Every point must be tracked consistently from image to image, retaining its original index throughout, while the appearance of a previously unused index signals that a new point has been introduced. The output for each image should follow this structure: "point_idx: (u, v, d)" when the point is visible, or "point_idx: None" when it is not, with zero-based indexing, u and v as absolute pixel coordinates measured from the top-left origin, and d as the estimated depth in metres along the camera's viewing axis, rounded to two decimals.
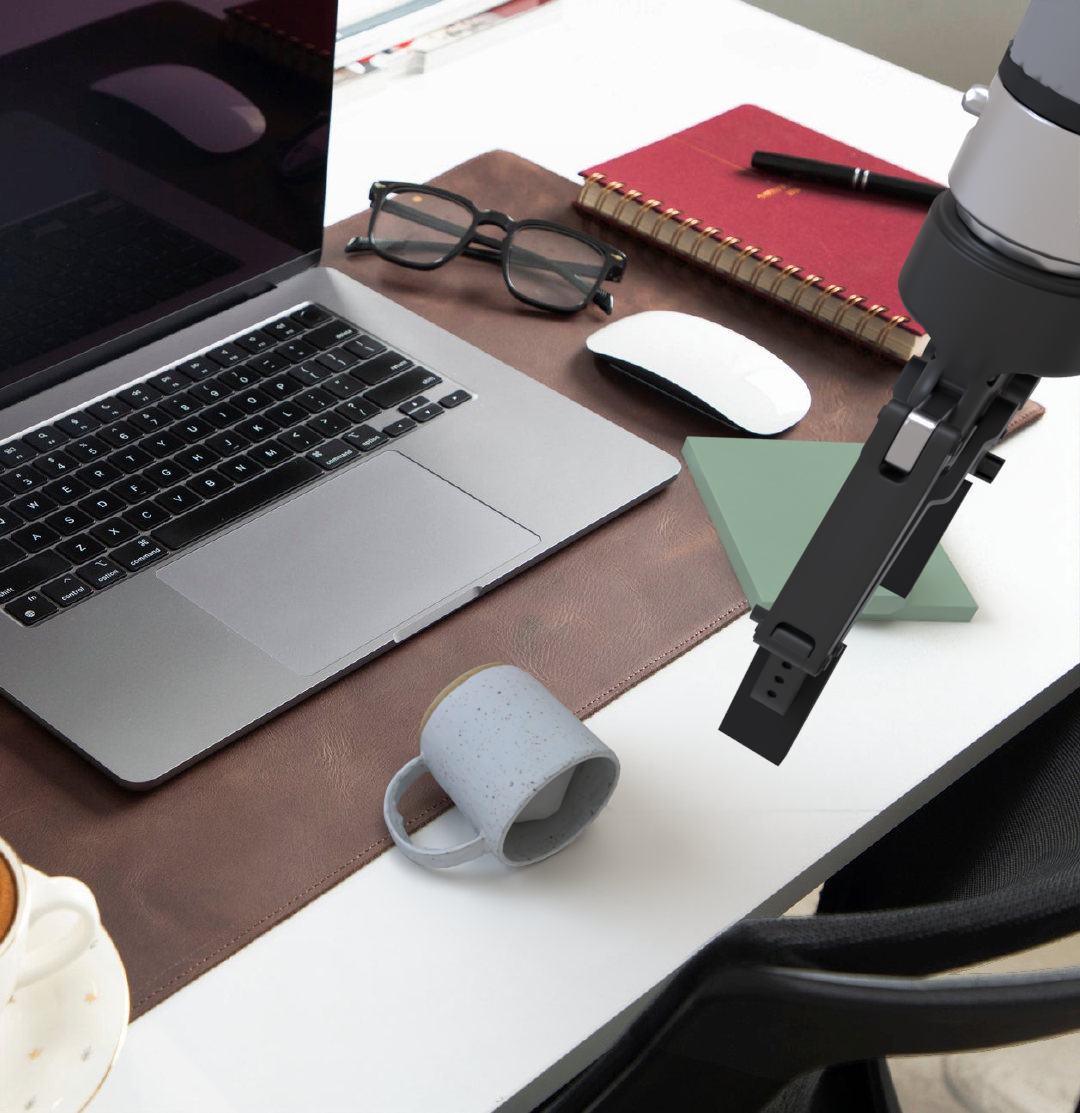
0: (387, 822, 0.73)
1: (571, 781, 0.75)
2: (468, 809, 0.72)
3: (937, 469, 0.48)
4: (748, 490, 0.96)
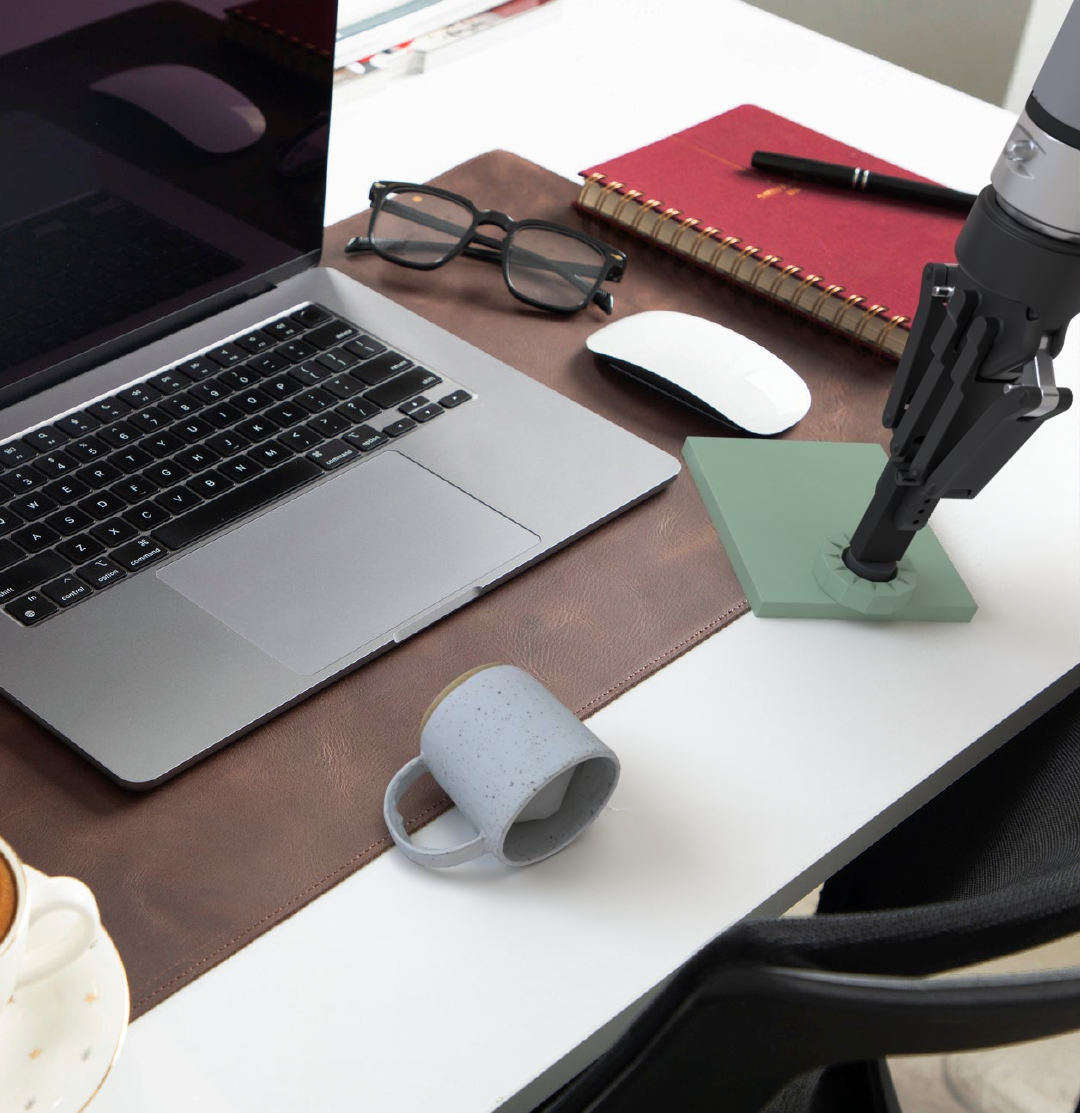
0: (387, 822, 0.73)
1: (571, 781, 0.75)
2: (468, 809, 0.72)
3: (1056, 414, 0.74)
4: (748, 490, 0.96)
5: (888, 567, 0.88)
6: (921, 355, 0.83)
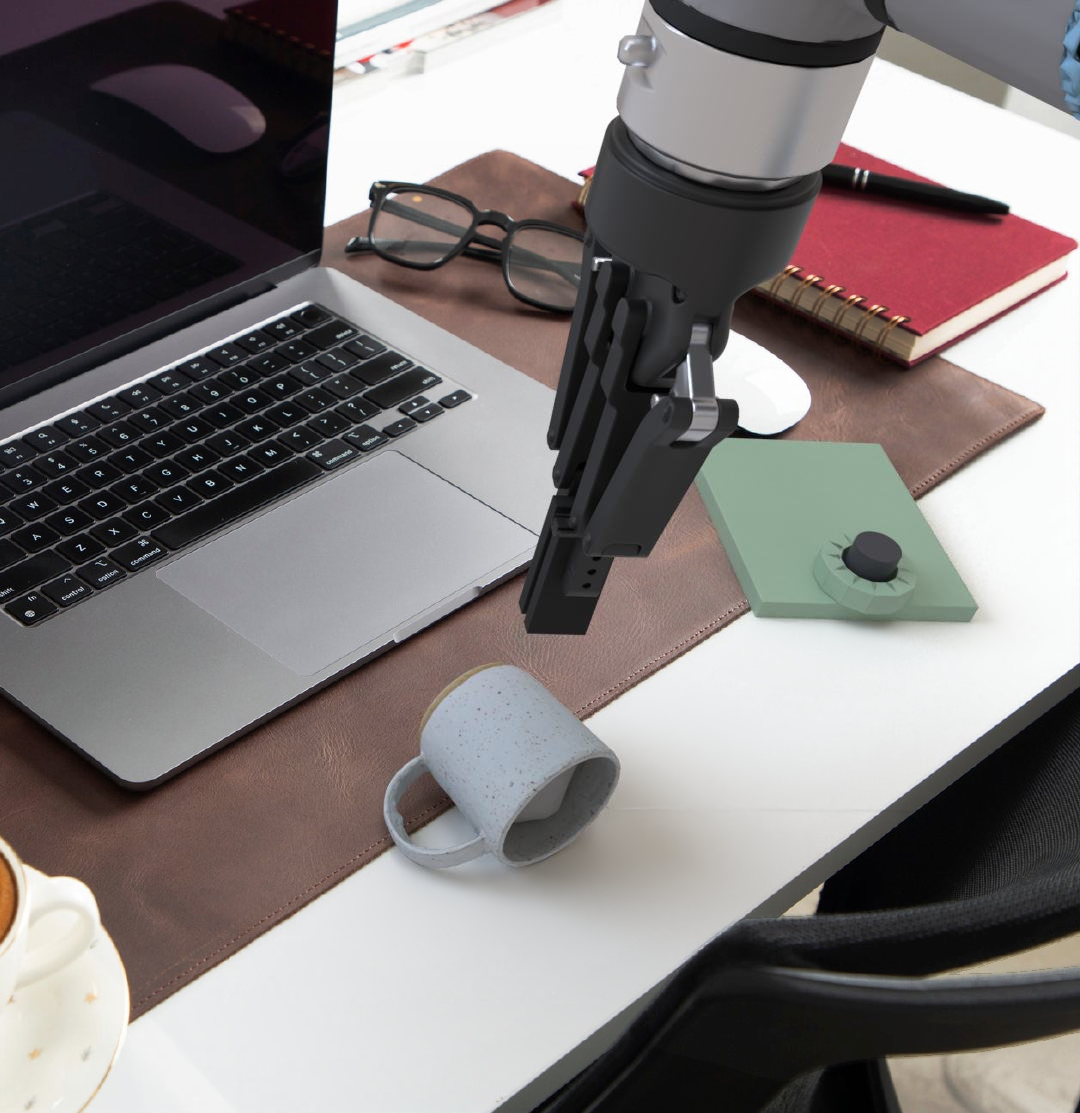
0: (387, 822, 0.73)
1: (571, 781, 0.75)
2: (468, 809, 0.72)
3: (723, 438, 0.51)
4: (748, 490, 0.96)
5: (894, 557, 0.87)
6: (585, 352, 0.60)
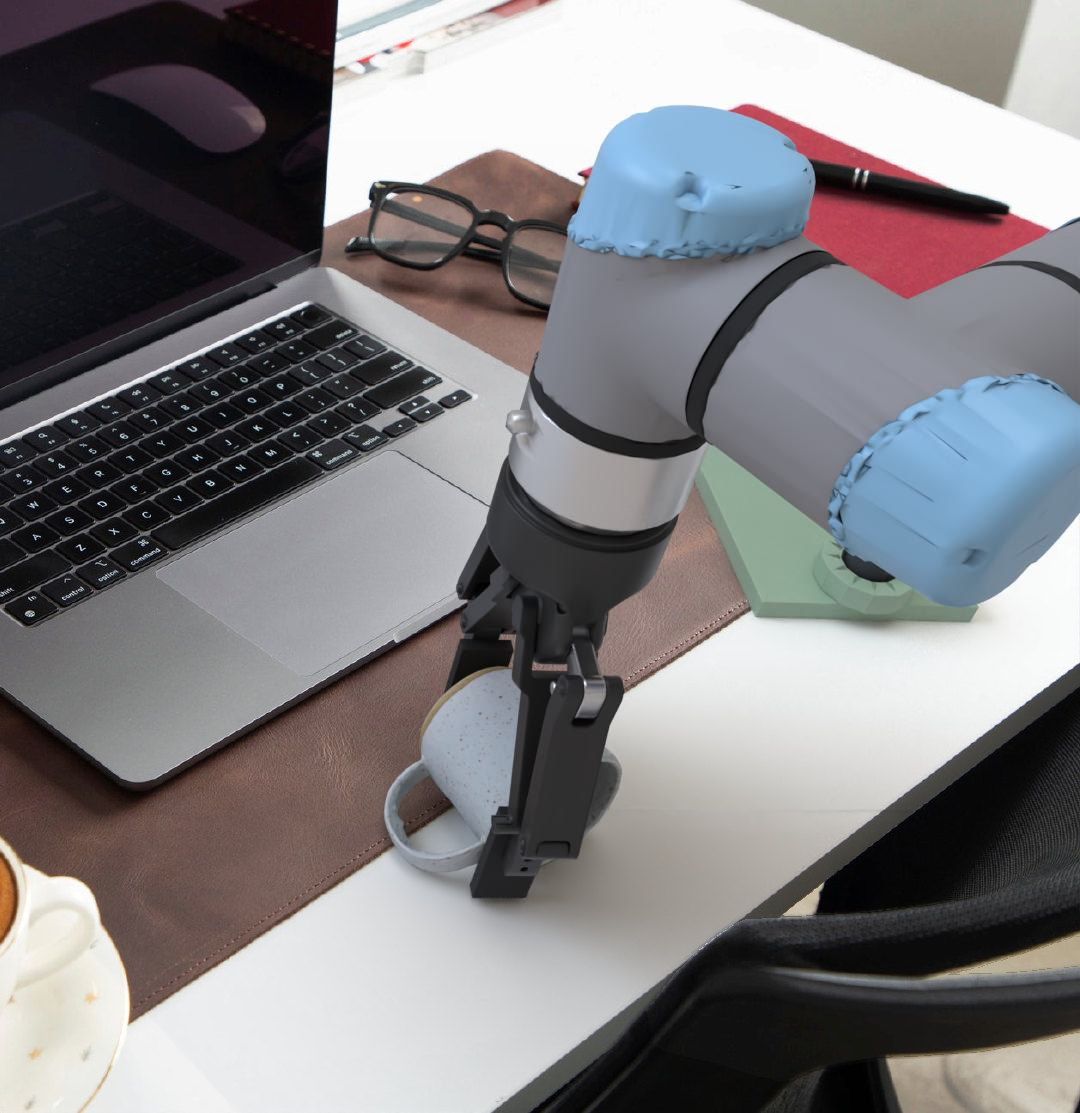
0: (388, 827, 0.73)
1: None
2: (469, 814, 0.72)
3: (615, 711, 0.60)
4: (748, 490, 0.96)
5: None
6: (491, 558, 0.72)
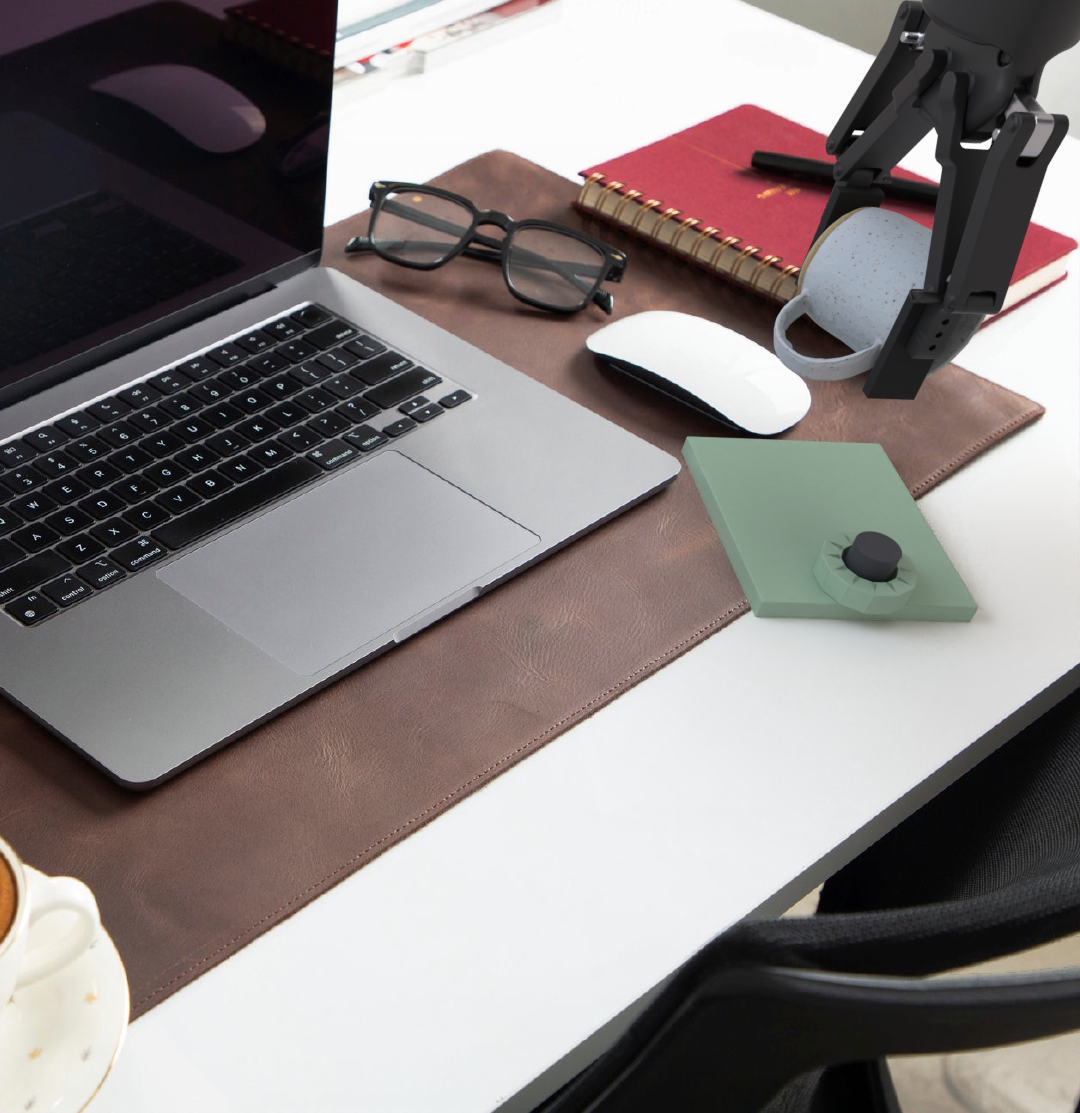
0: (782, 344, 0.80)
1: None
2: (861, 324, 0.79)
3: (1057, 147, 0.68)
4: (748, 490, 0.96)
5: (894, 557, 0.87)
6: (876, 94, 0.80)
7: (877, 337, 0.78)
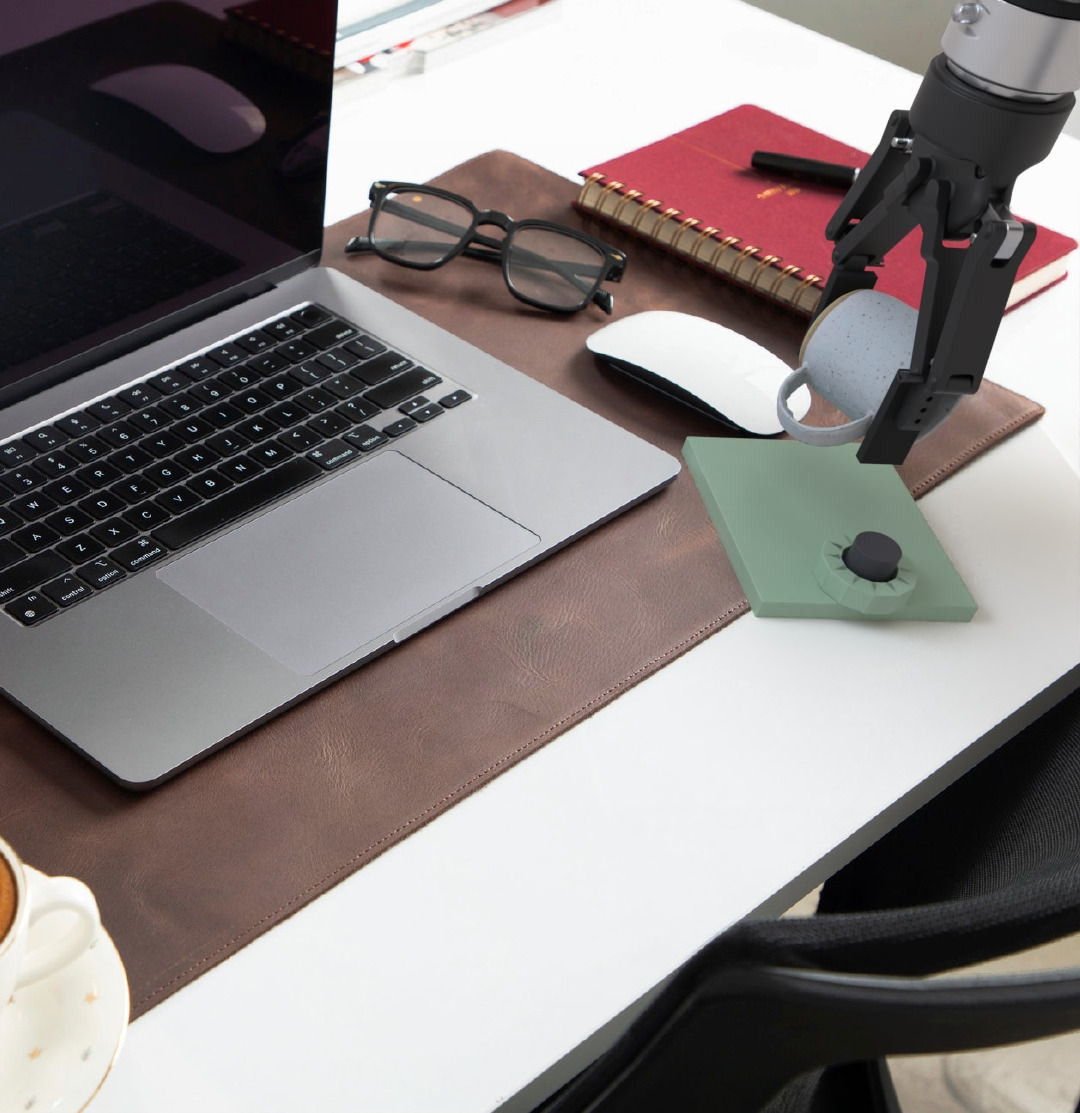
0: (784, 413, 0.89)
1: None
2: (855, 396, 0.88)
3: (1027, 251, 0.77)
4: (748, 490, 0.96)
5: (894, 557, 0.87)
6: (870, 190, 0.89)
7: (869, 409, 0.87)
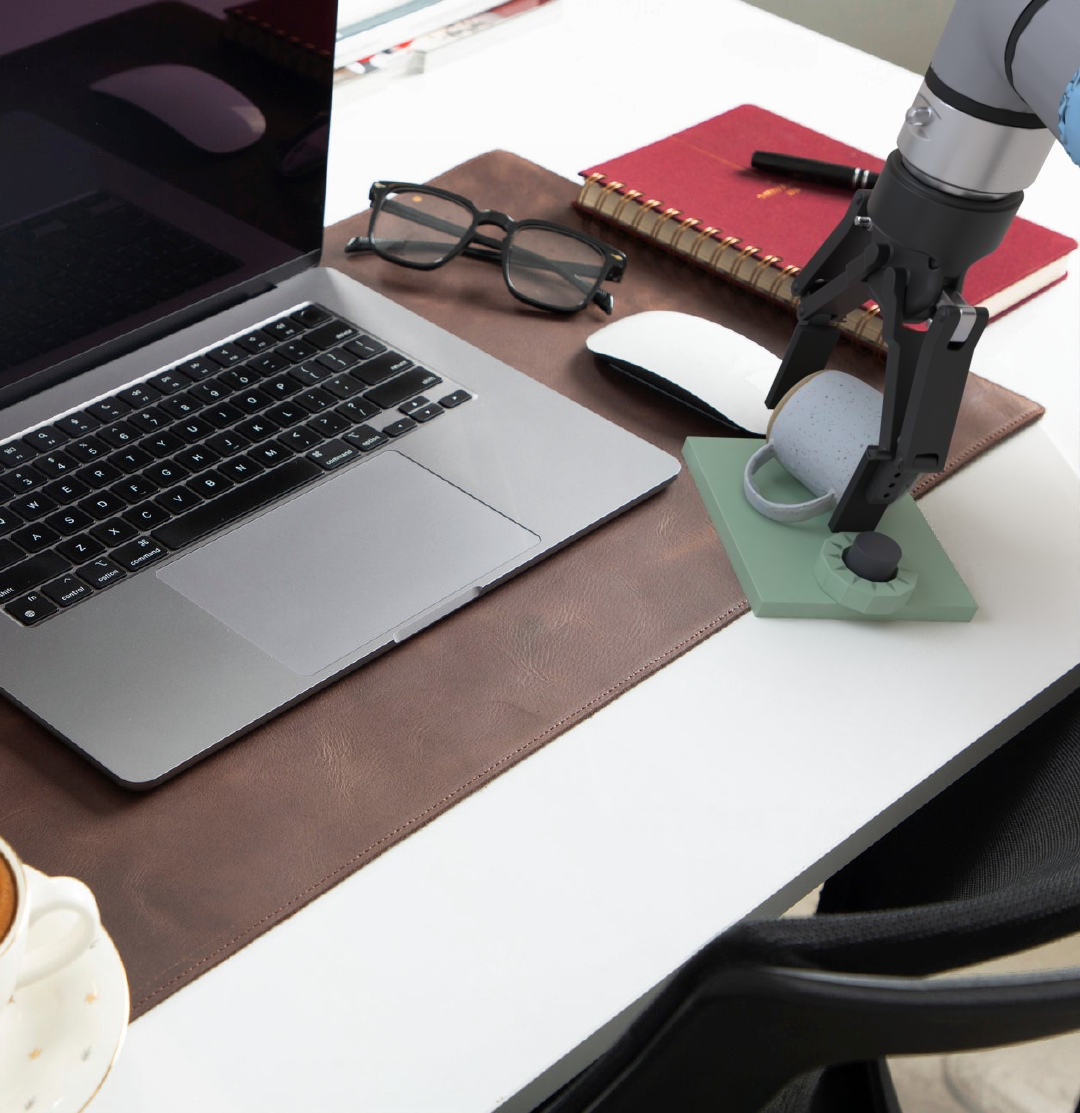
0: (750, 489, 0.94)
1: None
2: (818, 474, 0.92)
3: (981, 334, 0.81)
4: None
5: (894, 557, 0.87)
6: (833, 258, 0.93)
7: (831, 487, 0.92)
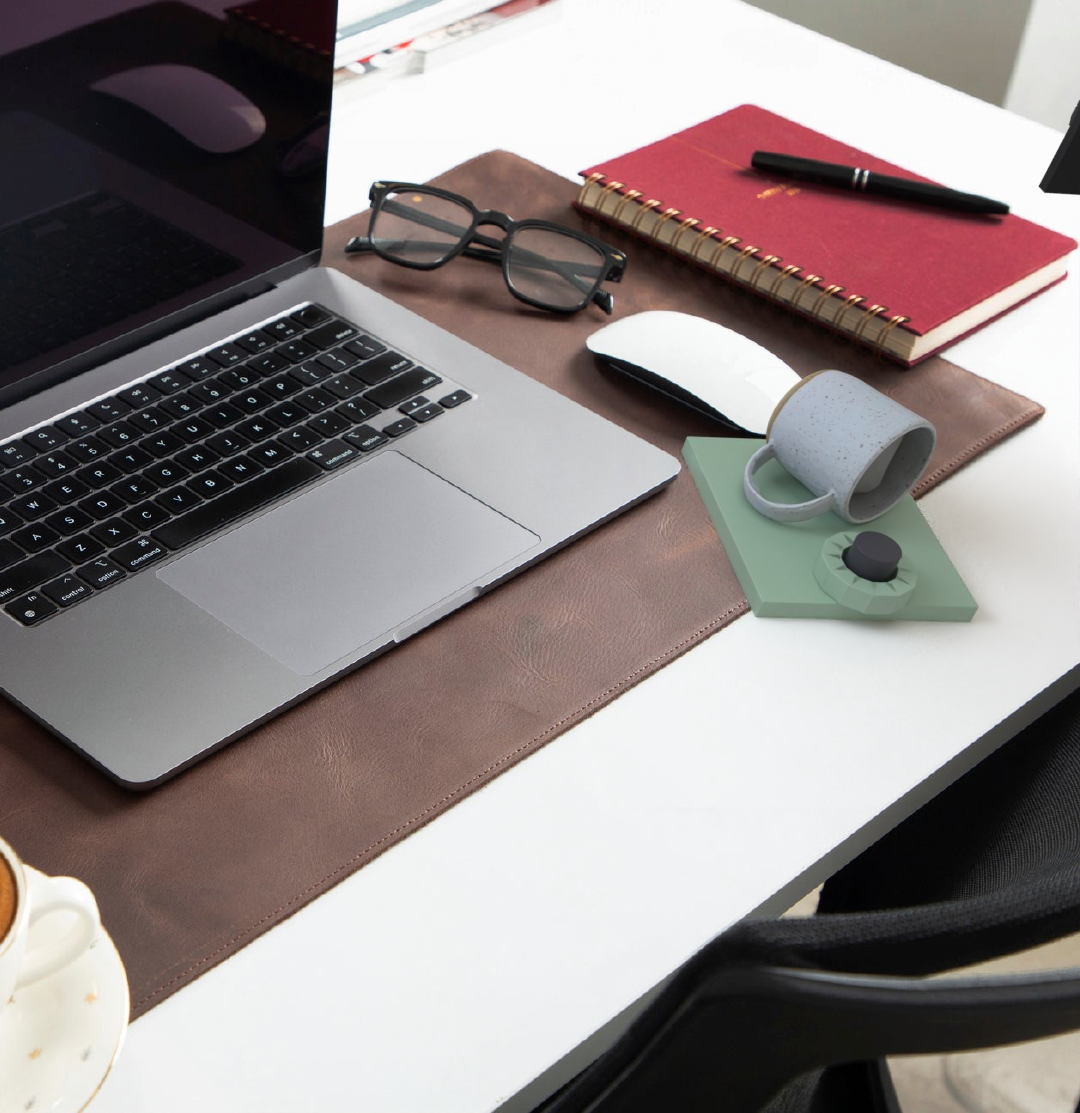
0: (750, 489, 0.94)
1: (887, 464, 0.96)
2: (818, 474, 0.92)
3: None
4: None
5: (894, 557, 0.87)
6: None
7: (831, 487, 0.92)
